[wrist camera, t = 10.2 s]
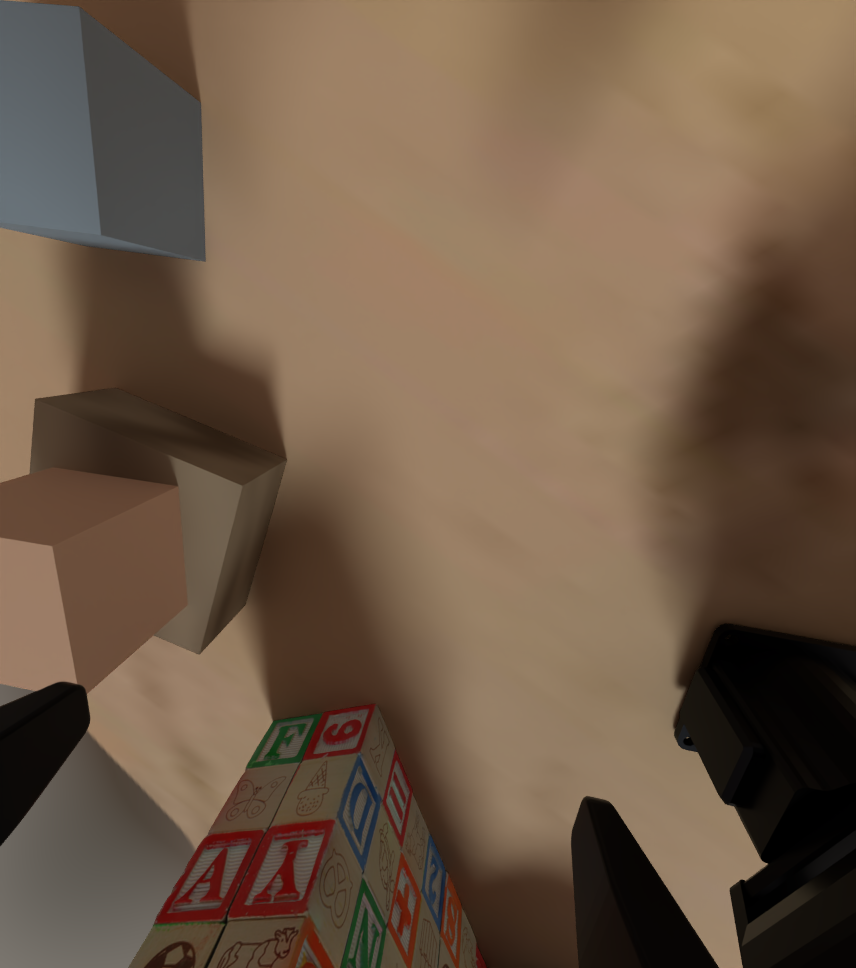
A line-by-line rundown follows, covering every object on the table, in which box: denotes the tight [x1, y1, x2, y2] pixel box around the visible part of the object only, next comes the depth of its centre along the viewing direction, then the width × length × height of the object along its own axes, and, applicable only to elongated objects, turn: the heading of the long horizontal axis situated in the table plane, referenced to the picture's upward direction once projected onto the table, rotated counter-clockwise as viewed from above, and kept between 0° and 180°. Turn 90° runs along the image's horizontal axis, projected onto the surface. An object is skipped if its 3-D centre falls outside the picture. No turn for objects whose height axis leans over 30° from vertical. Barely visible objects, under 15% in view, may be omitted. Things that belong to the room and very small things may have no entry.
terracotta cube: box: [0, 467, 188, 693], centre depth 15 cm, size 5×5×5 cm
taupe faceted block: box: [30, 388, 287, 655], centre depth 19 cm, size 8×8×4 cm
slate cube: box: [0, 0, 206, 262], centre depth 14 cm, size 5×5×5 cm
